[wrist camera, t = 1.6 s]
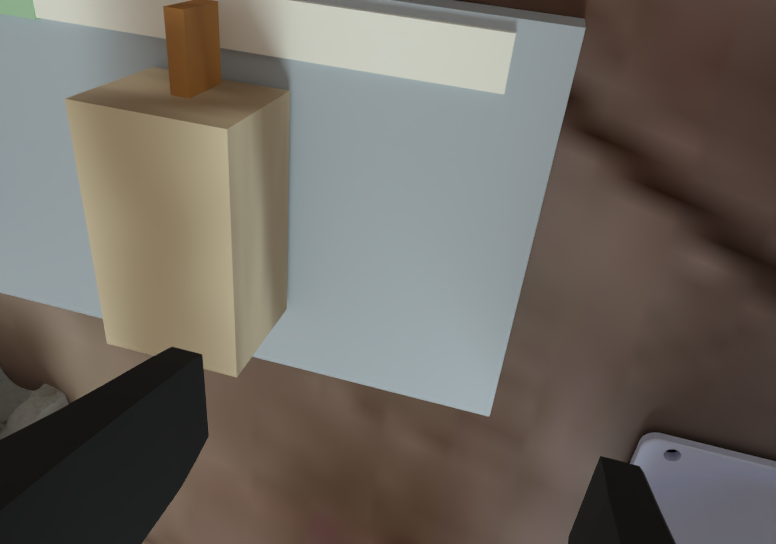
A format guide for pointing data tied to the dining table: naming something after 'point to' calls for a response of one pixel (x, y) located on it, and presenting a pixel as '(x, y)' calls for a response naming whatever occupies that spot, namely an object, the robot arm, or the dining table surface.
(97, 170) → the beige block with peg
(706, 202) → the dining table surface
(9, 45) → the gauge bed
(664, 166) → the dining table surface
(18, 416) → the egg carton
